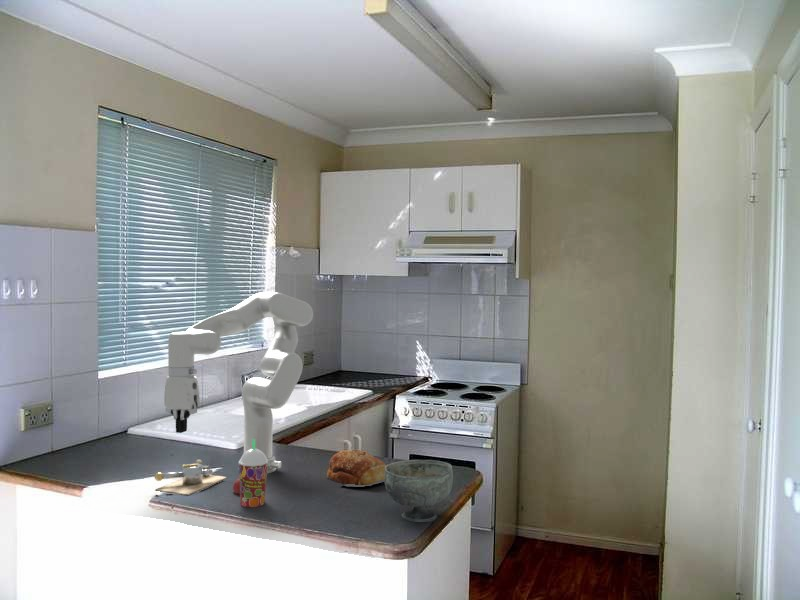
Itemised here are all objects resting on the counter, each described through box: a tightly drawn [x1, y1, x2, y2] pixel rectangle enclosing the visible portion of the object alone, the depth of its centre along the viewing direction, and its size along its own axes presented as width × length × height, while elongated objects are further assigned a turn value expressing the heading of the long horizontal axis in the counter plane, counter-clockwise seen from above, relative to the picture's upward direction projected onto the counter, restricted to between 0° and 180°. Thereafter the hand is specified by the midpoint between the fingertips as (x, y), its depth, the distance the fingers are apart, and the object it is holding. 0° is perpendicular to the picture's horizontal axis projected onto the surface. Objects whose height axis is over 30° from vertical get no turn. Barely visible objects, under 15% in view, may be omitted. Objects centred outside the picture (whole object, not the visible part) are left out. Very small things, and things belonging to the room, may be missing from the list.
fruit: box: [232, 477, 240, 495], centre depth 207 cm, size 6×6×8 cm
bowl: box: [383, 459, 454, 523], centre depth 191 cm, size 20×19×15 cm
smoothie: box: [238, 439, 268, 508], centre depth 197 cm, size 8×8×20 cm
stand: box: [154, 459, 228, 496], centre depth 214 cm, size 12×20×7 cm, turn 160°
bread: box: [326, 449, 388, 485], centre depth 227 cm, size 20×18×10 cm
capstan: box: [154, 463, 214, 485], centre depth 213 cm, size 18×6×6 cm, turn 114°
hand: (181, 431), depth 209 cm, fingers closed
